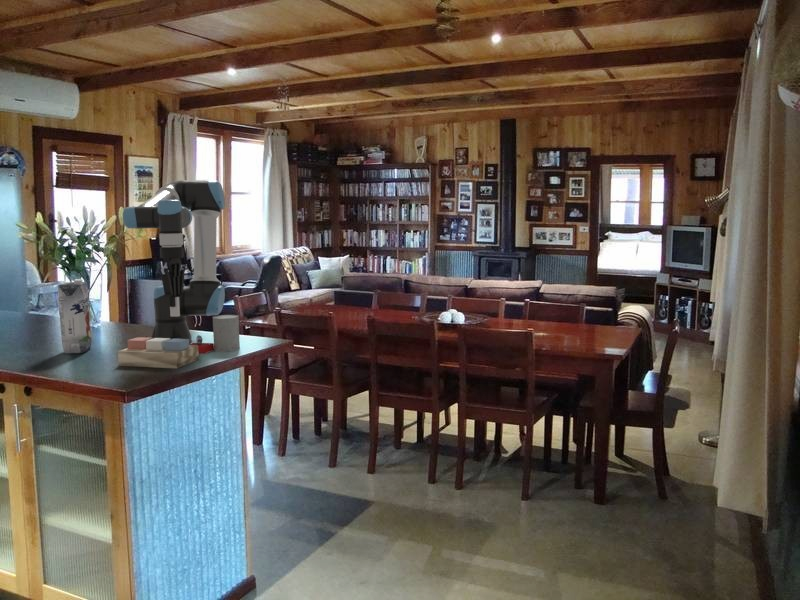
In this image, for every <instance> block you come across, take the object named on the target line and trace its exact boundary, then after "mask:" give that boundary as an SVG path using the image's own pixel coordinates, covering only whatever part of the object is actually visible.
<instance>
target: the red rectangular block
mask: <svg viewBox="0 0 800 600" xmlns="http://www.w3.org/2000/svg"><path fill="white" fill-rule="evenodd" d="M195 340H196V342H191V343H189V345H198V353H199V354H204V355H205V354H209V353H210V352H212V351H215V350H214V342H213V343H212V342H203V336H201V335H197V336H196V339H195Z"/></svg>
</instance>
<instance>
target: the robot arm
mask: <svg viewBox="0 0 800 600" xmlns="http://www.w3.org/2000/svg"><path fill="white" fill-rule="evenodd" d="M225 208H226V198H225V193H224V187H223V185H222V183H220V181H218V180H217V179H216V180H213V179H212V180H211V179H194V180H193V179H192V180H191V179H189V180H187V179H186V180H183V179H182V180H176V181H173V182H170V183H168V184H165V185H163V186H161V187H160V188H158V189H157V190H156V191H155V194H154V195H153V196H152V197H150V198H148V199H147V200H146V201H144V202H142V203H141V204H140V205H138V206H134V205H133V206H127V207H125V208H124V209H123V212H122V221H123V224H124V227H125V228H127V229H135V230H137V229H139V230H140V229H141V230H142V229H158V234H159V238H158V239H159V246H161V247H160V248H159V255H160V258H161V259H163V266H162V267H160V268H159V269H158V271H159V274H160V277H161V280H162V281H161V282H162V285H159V286H156V287H155V288H154V289H153V306H154V308H153V309H154V327H153V331H152V335H151V338H152V339H154V338H170V339H189V343H192V340H193V339H192V334H191V331H190V328H189V325H188V323H187V317H193V316H194V317H198V316H207V317H209V316H218V315H220V314H221V312H222V311H223V308H224V305H225V297H226V293H225V287H224V286H223V285H222V284H221V281H220V280H219V279H218V278H217V235H218V233H217V231H218V230H217V224H218V223H217V218H219V216H221V212H222V210H225ZM193 219H194V221H193ZM192 221H193V223H194V225H193V227H194V228H193V229H194V230H193V277H192V279H190V280H189V286H186V285H185V273H186V269H187V267H186V265H182V260H181V259H183V258H184V255H185V253H184V247H183V245H184V233H183V229H185V228H186V227H188V226H189V225H191V224H192Z"/></svg>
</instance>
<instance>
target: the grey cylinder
mask: <svg viewBox="0 0 800 600" xmlns="http://www.w3.org/2000/svg"><path fill="white" fill-rule="evenodd" d="M211 318H212V331H213V335H212V336H213V343H214V350H213V351H215V352H220V353H221V352H223V353H224V352H225V353H226V352H233V351H234V352H235V351H238V350H240V349H241V346H240V325H239V324H240V322H239V318H240V317H239V315H237V314H218V315H213V316H212V317H211Z"/></svg>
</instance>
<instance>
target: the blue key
mask: <svg viewBox="0 0 800 600" xmlns="http://www.w3.org/2000/svg"><path fill="white" fill-rule="evenodd" d="M189 344H190V342H189V339H171V340H168V341H165V350H168V351H182V350H184V349H187V348H189Z"/></svg>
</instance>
